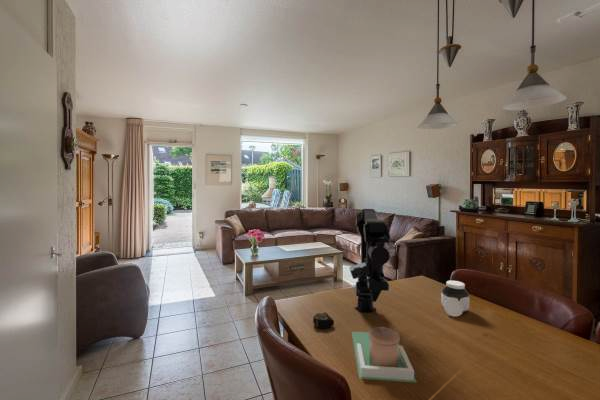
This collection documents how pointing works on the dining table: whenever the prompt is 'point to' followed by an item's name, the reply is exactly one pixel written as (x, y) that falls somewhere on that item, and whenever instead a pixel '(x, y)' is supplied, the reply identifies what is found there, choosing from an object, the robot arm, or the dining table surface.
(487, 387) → the dining table surface
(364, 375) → the white rail holder
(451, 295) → the spread jar
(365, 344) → the green mat
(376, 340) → the terracotta pot
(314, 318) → the tape measure
